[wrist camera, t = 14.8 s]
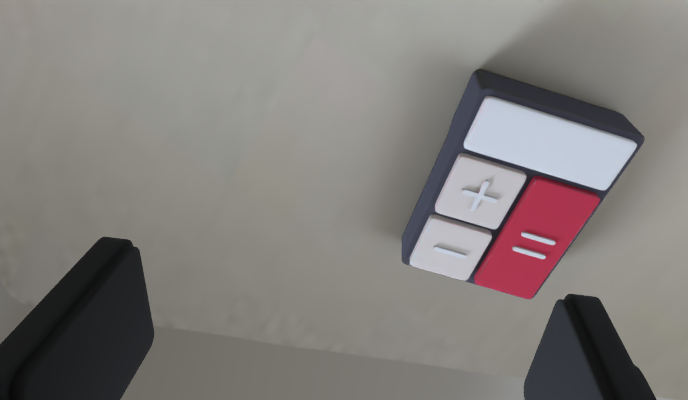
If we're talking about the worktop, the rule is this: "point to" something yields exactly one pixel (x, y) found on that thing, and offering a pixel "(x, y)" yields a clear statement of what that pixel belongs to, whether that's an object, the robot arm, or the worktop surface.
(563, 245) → the calculator
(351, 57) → the worktop surface
